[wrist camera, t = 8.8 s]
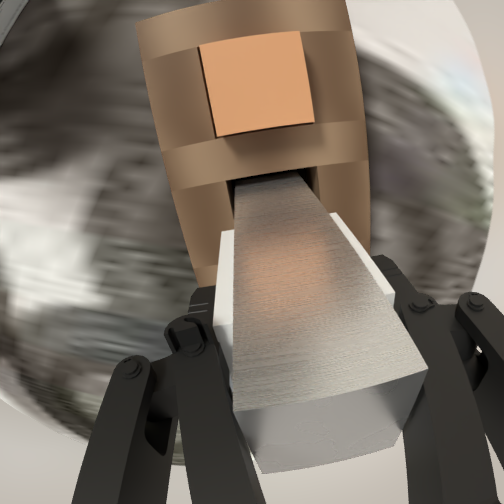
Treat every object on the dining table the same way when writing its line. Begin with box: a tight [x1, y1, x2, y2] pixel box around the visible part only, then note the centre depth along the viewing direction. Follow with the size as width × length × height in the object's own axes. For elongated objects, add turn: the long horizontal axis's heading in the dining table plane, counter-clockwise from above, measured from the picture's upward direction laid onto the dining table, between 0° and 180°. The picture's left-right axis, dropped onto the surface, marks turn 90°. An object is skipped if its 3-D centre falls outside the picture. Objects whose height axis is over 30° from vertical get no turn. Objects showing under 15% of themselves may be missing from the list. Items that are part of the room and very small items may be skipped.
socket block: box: [135, 0, 370, 288], centre depth 19 cm, size 12×20×4 cm, turn 10°
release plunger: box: [199, 31, 315, 137], centre depth 15 cm, size 5×5×5 cm
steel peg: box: [233, 171, 429, 474], centre depth 13 cm, size 4×4×16 cm
